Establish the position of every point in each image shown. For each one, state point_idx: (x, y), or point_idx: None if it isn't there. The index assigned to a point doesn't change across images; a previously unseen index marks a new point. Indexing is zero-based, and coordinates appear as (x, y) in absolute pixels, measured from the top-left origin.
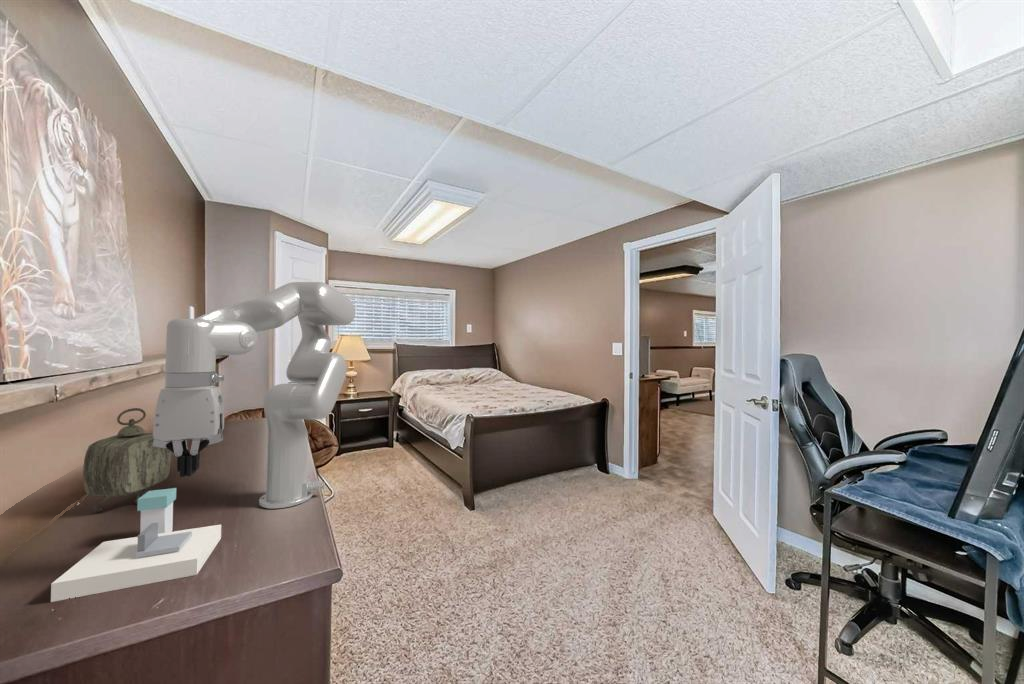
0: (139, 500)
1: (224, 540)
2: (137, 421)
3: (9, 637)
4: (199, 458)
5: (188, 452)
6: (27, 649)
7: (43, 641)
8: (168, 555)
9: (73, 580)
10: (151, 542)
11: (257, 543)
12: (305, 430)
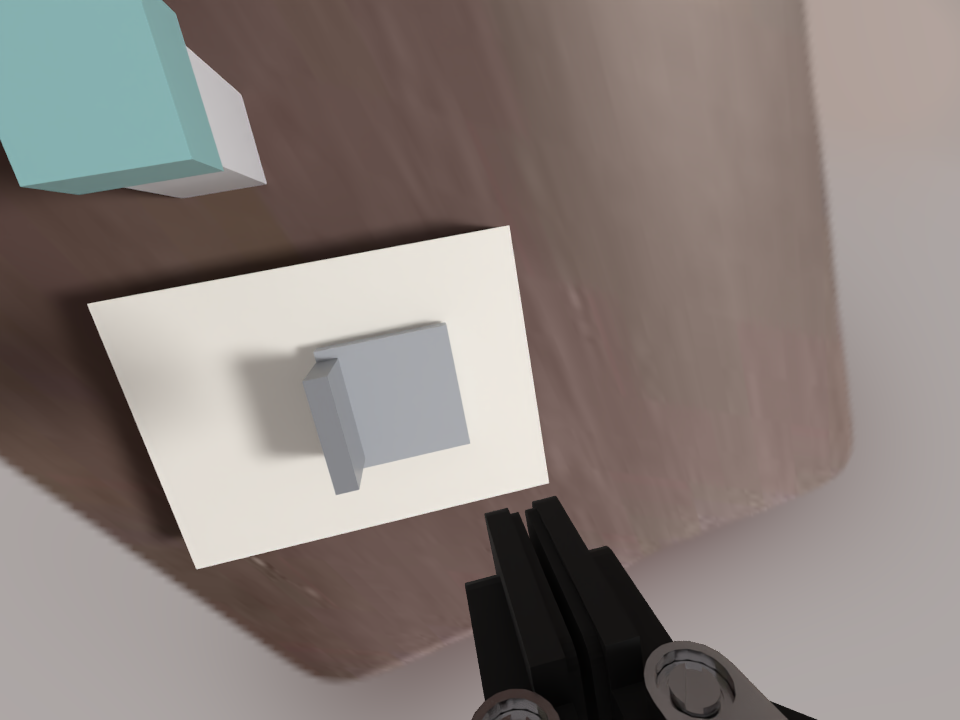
0: (39, 185)
1: (518, 249)
2: None
3: (258, 640)
4: (647, 605)
5: (576, 715)
6: (338, 671)
7: (349, 654)
8: (445, 453)
9: (248, 555)
10: (350, 410)
11: (640, 298)
12: None
